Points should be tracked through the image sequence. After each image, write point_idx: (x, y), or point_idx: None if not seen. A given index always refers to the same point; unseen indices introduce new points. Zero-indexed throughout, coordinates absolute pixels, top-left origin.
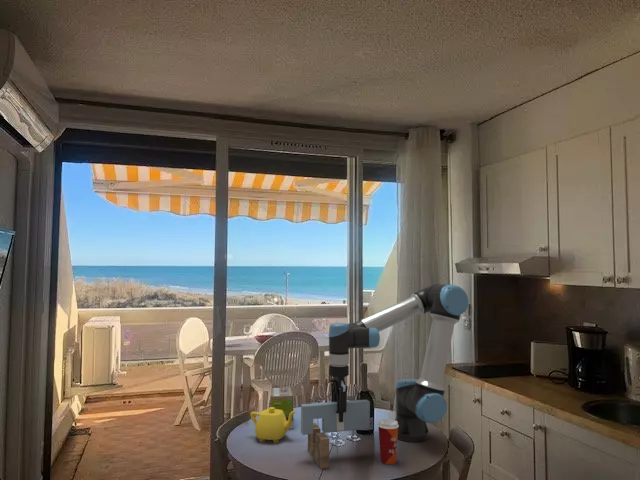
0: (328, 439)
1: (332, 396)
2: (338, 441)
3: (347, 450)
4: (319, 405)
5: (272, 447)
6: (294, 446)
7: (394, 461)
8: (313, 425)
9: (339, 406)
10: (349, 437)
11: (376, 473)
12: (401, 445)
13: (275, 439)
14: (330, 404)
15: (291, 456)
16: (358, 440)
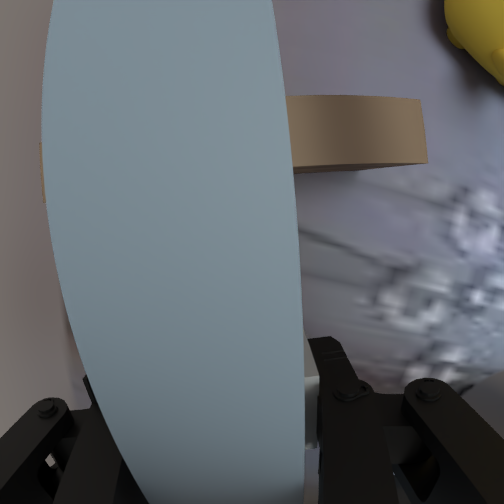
0: (44, 197)
1: (475, 492)
2: (424, 304)
3: (313, 324)
4: (47, 65)
5: (400, 4)
6: (408, 85)
7: None
8: (370, 127)
9: (18, 447)
10: (444, 354)
11: (74, 359)
12: (305, 487)
13: (446, 20)
14: (87, 370)
15: (288, 43)
16: (404, 383)
